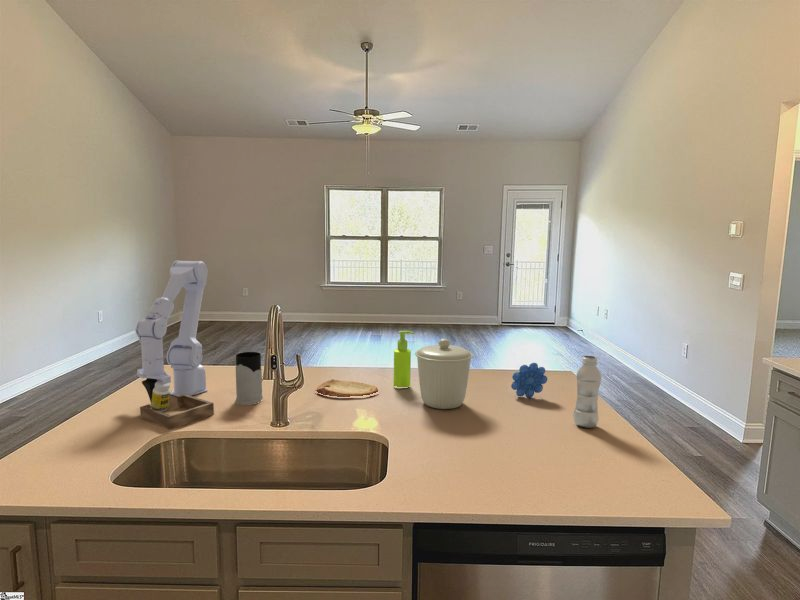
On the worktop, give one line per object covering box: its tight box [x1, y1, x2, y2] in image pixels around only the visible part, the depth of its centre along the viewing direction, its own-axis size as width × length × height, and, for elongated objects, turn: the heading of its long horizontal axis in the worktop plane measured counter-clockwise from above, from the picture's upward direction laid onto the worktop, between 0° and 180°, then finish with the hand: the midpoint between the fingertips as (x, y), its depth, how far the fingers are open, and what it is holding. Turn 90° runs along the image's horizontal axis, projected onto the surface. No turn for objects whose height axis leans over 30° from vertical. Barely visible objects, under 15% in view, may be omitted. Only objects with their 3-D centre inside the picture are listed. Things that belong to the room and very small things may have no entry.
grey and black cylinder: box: [235, 351, 265, 406], centre depth 159 cm, size 9×14×15 cm, turn 159°
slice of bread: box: [315, 379, 379, 397], centre depth 167 cm, size 18×18×4 cm
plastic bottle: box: [573, 355, 602, 429], centre depth 138 cm, size 6×7×20 cm
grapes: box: [510, 362, 548, 399], centre depth 164 cm, size 12×7×12 cm, turn 85°
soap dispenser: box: [393, 330, 415, 387], centre depth 173 cm, size 6×7×20 cm
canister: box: [414, 338, 474, 410], centre depth 155 cm, size 18×18×21 cm
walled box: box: [139, 394, 215, 430], centre depth 142 cm, size 14×14×4 cm
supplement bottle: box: [150, 381, 171, 413], centre depth 146 cm, size 5×5×8 cm
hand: (154, 402), depth 149 cm, fingers closed, pressing on supplement bottle
